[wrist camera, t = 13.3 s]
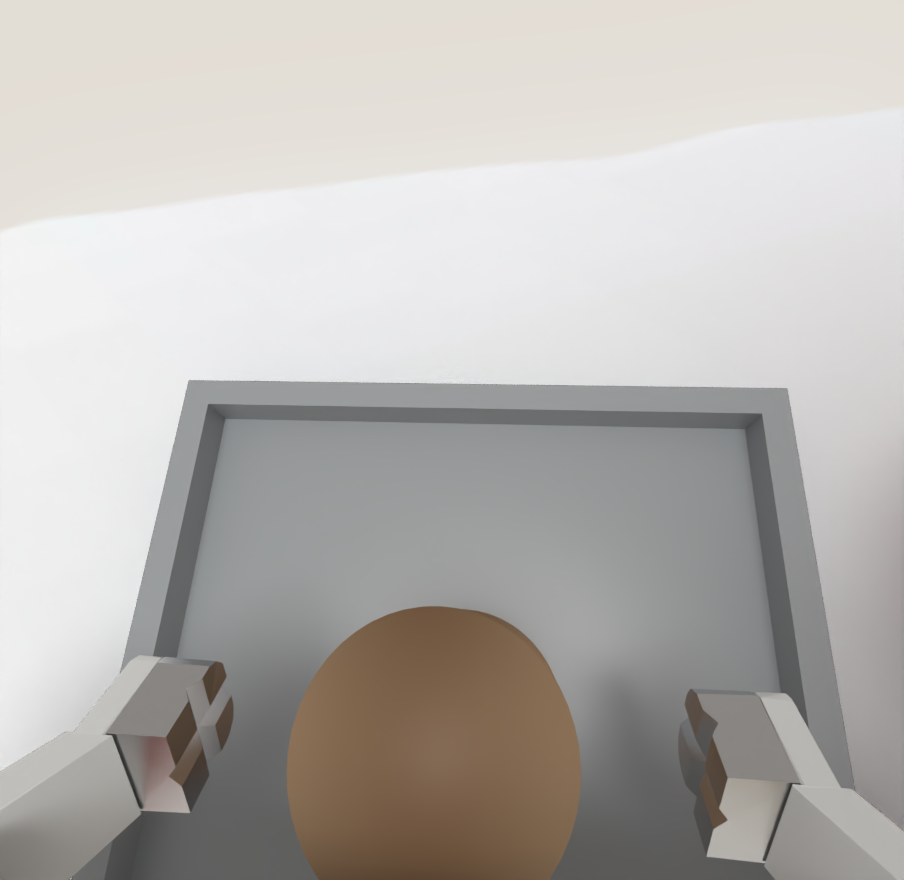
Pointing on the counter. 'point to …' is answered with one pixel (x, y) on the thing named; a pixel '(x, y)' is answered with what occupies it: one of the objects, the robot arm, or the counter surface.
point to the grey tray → (484, 586)
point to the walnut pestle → (434, 754)
